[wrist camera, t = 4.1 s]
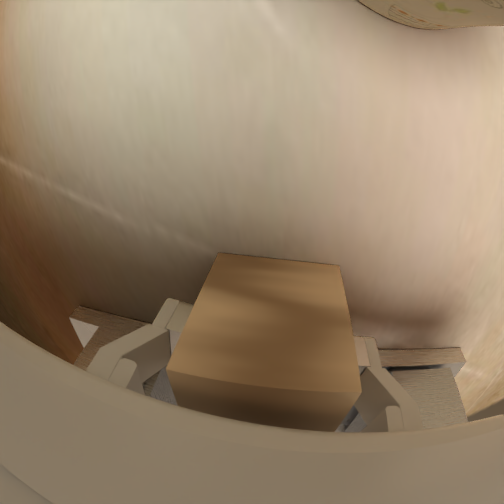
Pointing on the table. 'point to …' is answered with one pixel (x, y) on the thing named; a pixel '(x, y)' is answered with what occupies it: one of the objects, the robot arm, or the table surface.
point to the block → (268, 345)
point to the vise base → (158, 385)
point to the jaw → (428, 398)
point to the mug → (440, 12)
